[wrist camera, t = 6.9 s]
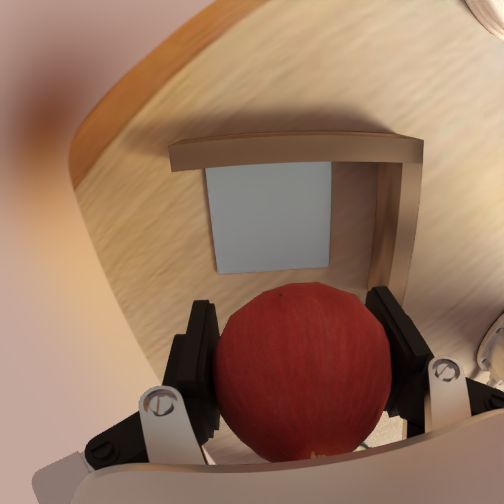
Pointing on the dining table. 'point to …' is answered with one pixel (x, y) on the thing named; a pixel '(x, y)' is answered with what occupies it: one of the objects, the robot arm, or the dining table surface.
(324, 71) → the dining table surface
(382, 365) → the onion
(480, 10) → the coaster
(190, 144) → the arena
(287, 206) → the pad
